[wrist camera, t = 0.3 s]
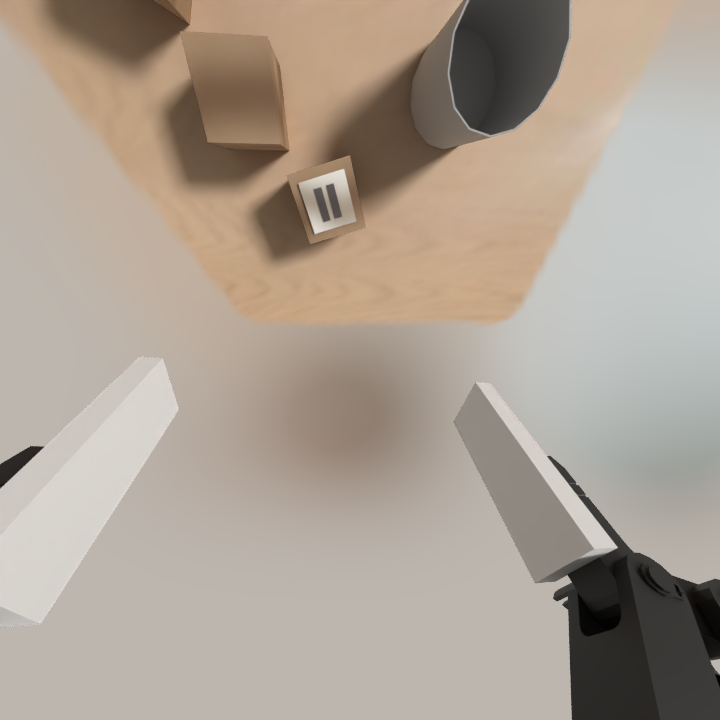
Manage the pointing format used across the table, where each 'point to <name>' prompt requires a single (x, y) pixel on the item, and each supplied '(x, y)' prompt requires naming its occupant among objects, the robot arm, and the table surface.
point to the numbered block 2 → (327, 199)
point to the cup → (489, 69)
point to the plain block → (237, 90)
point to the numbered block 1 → (178, 8)
